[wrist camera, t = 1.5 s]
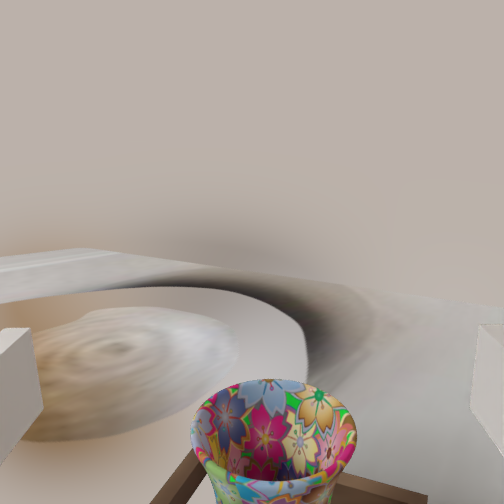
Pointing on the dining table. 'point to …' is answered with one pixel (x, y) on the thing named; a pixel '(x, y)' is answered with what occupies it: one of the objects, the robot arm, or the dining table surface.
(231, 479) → the mug
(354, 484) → the frame
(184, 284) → the dining table surface
